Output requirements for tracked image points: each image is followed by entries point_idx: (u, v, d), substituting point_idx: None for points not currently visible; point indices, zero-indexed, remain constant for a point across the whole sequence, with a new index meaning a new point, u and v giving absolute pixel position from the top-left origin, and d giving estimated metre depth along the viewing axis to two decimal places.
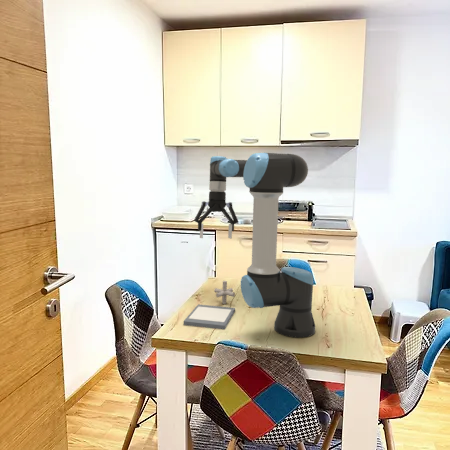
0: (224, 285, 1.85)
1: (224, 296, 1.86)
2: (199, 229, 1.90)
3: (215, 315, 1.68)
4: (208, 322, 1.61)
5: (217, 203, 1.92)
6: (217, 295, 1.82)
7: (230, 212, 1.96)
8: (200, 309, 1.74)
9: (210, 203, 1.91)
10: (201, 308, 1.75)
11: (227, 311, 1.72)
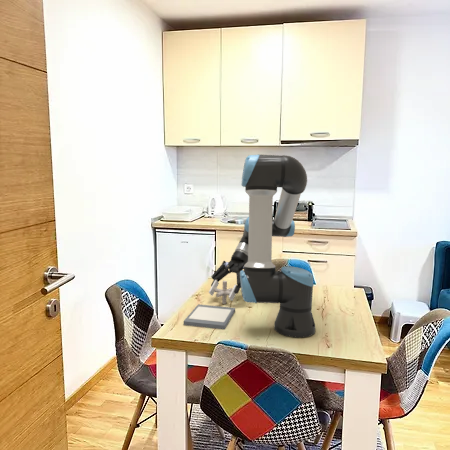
0: (224, 285, 1.85)
1: (224, 296, 1.86)
2: (211, 285, 1.89)
3: (215, 315, 1.68)
4: (208, 322, 1.61)
5: (235, 262, 1.91)
6: (217, 295, 1.82)
7: None
8: (200, 309, 1.74)
9: (229, 262, 1.93)
10: (201, 308, 1.75)
11: (227, 311, 1.72)
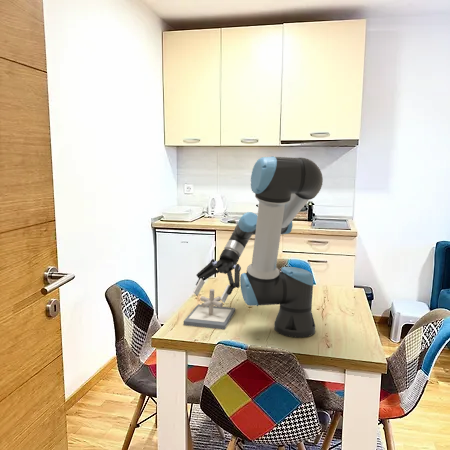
0: (211, 294, 1.67)
1: (211, 306, 1.68)
2: (196, 284, 1.73)
3: (215, 315, 1.68)
4: (208, 322, 1.61)
5: (224, 262, 1.74)
6: (203, 305, 1.64)
7: None
8: (200, 309, 1.74)
9: (218, 261, 1.76)
10: (201, 308, 1.75)
11: (227, 311, 1.72)
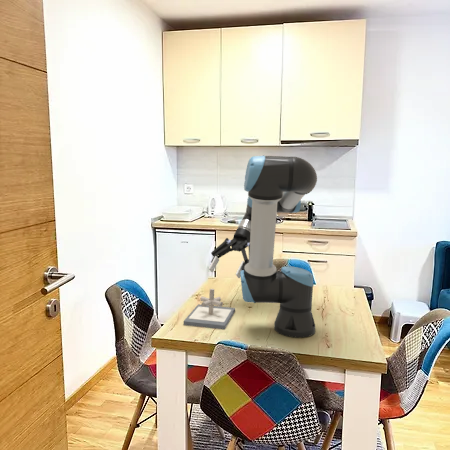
0: (211, 293, 1.67)
1: (211, 306, 1.68)
2: (211, 261, 1.80)
3: (215, 315, 1.68)
4: (208, 322, 1.61)
5: (238, 241, 1.81)
6: (203, 304, 1.65)
7: None
8: (200, 309, 1.74)
9: (232, 240, 1.83)
10: (201, 308, 1.75)
11: (227, 311, 1.72)
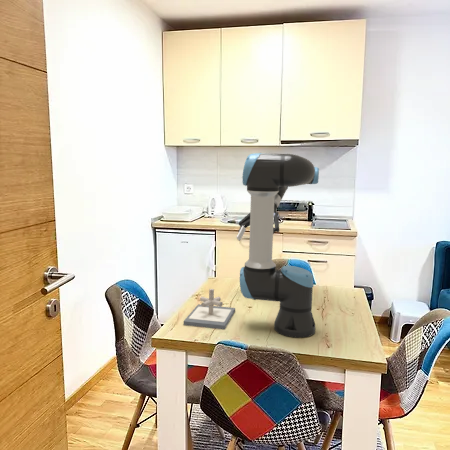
0: (211, 293, 1.67)
1: (211, 306, 1.68)
2: (239, 230, 1.91)
3: (215, 315, 1.68)
4: (208, 322, 1.61)
5: None
6: (203, 305, 1.65)
7: None
8: (200, 309, 1.74)
9: None
10: (201, 308, 1.75)
11: (227, 311, 1.72)
